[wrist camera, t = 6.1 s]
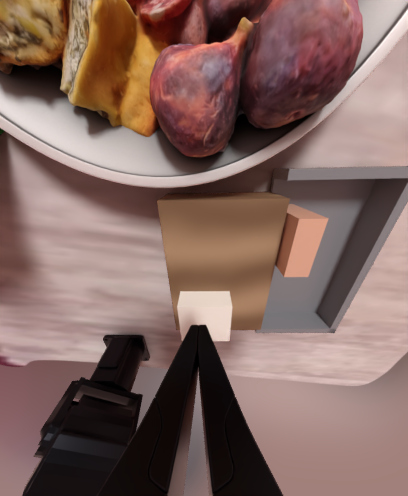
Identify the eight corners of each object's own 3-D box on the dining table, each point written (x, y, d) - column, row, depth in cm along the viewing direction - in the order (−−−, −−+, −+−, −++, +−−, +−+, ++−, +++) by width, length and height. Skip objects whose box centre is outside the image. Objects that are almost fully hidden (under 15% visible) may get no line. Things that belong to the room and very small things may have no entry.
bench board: (251, 303, 22) (260, 329, 18) (181, 303, 22) (176, 329, 19) (270, 191, 15) (289, 198, 12) (168, 193, 15) (156, 201, 12)
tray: (319, 313, 23) (334, 332, 20) (250, 313, 23) (255, 332, 20) (385, 166, 14) (427, 165, 11) (274, 168, 14) (289, 168, 12)
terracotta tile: (264, 249, 18) (282, 249, 17) (283, 277, 13) (308, 276, 13) (272, 204, 15) (292, 203, 15) (299, 219, 11) (328, 218, 11)
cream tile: (227, 324, 18) (229, 341, 16) (184, 324, 18) (181, 341, 16) (229, 291, 16) (232, 306, 14) (180, 291, 16) (177, 306, 14)
